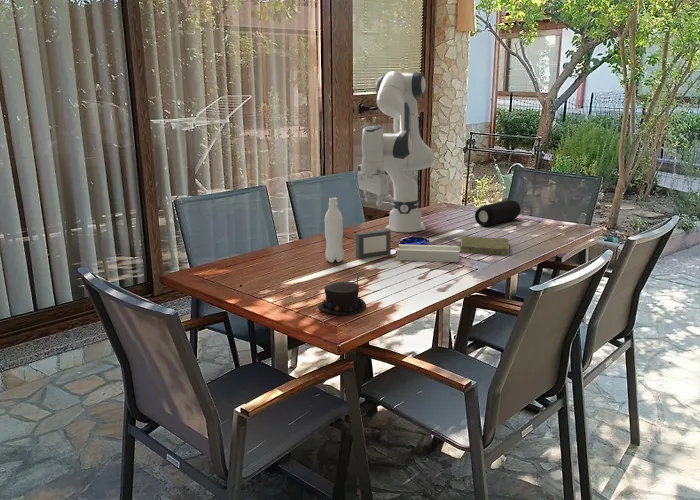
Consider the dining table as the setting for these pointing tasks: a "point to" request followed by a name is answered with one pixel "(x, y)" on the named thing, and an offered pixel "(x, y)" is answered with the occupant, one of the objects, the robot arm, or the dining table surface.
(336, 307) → the top hat
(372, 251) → the picture frame
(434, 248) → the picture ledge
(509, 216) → the portable speaker
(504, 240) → the decorative tile
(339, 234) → the water bottle
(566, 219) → the dining table surface
